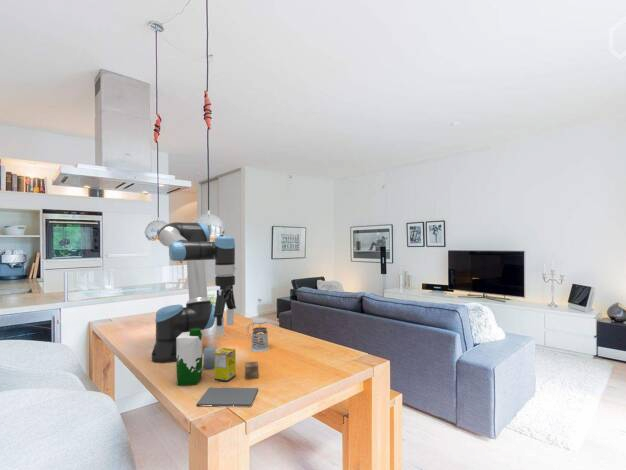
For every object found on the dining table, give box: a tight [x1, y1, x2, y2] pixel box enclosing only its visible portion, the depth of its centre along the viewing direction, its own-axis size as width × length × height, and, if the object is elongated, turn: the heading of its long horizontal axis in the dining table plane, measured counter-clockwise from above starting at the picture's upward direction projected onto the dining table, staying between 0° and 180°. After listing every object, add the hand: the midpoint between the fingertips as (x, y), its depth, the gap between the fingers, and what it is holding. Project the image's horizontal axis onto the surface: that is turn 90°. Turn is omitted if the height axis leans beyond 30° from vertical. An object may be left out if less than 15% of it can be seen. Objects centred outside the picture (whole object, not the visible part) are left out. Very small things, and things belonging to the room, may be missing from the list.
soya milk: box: [176, 328, 203, 386], centre depth 128 cm, size 9×9×20 cm
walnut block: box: [244, 361, 259, 381], centre depth 133 cm, size 5×5×5 cm
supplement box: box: [214, 347, 237, 383], centre depth 131 cm, size 6×6×11 cm
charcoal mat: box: [196, 387, 259, 407], centre depth 115 cm, size 18×12×1 cm, turn 88°
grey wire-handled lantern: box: [246, 298, 270, 353], centre depth 167 cm, size 10×12×25 cm
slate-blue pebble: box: [202, 346, 217, 371], centre depth 142 cm, size 5×5×8 cm
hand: (225, 329), depth 131 cm, fingers open, 13 cm apart
